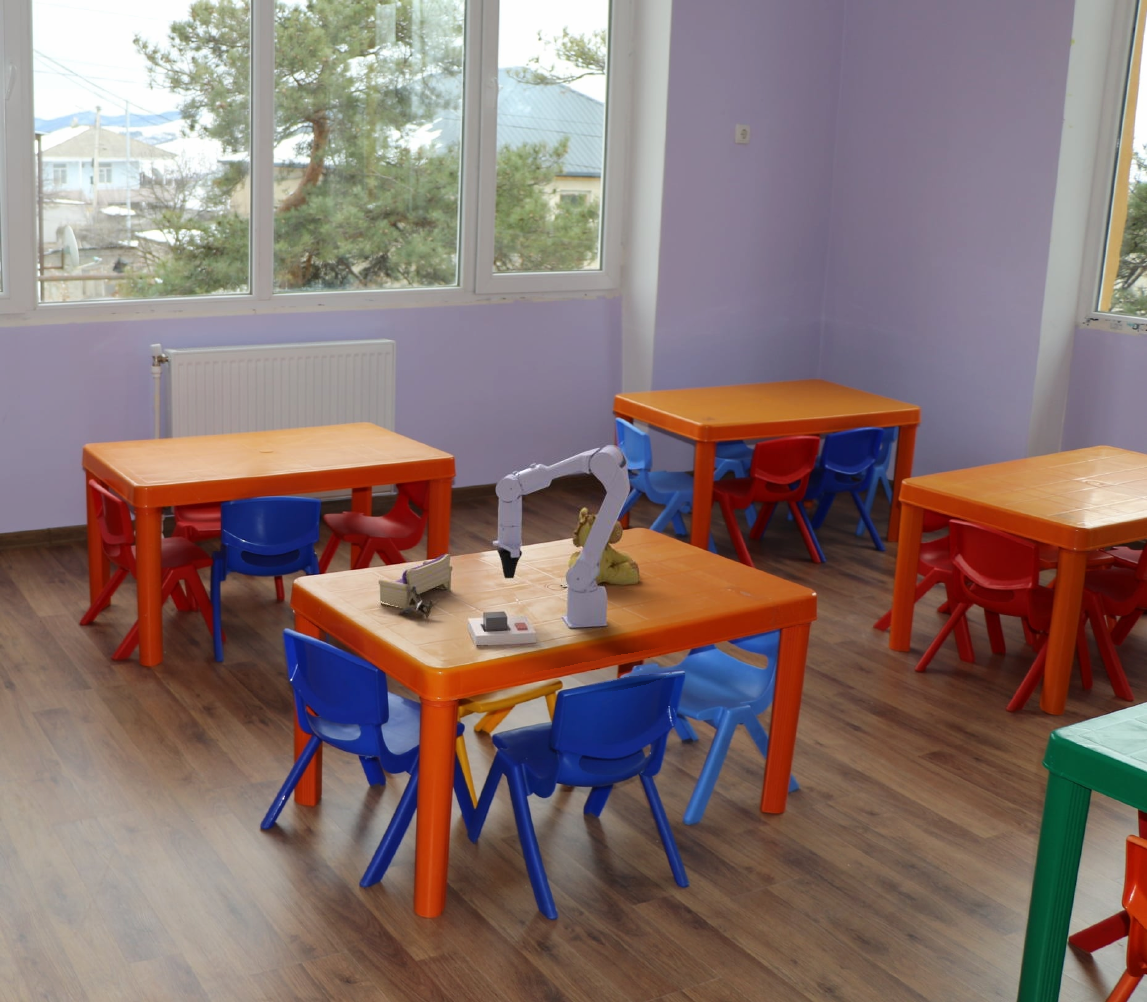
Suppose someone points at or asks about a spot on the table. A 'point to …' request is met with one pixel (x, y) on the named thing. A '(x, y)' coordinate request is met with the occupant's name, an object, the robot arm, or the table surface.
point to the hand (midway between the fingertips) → (508, 577)
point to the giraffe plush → (606, 554)
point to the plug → (494, 621)
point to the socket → (503, 632)
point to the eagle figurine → (419, 604)
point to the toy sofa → (417, 581)
